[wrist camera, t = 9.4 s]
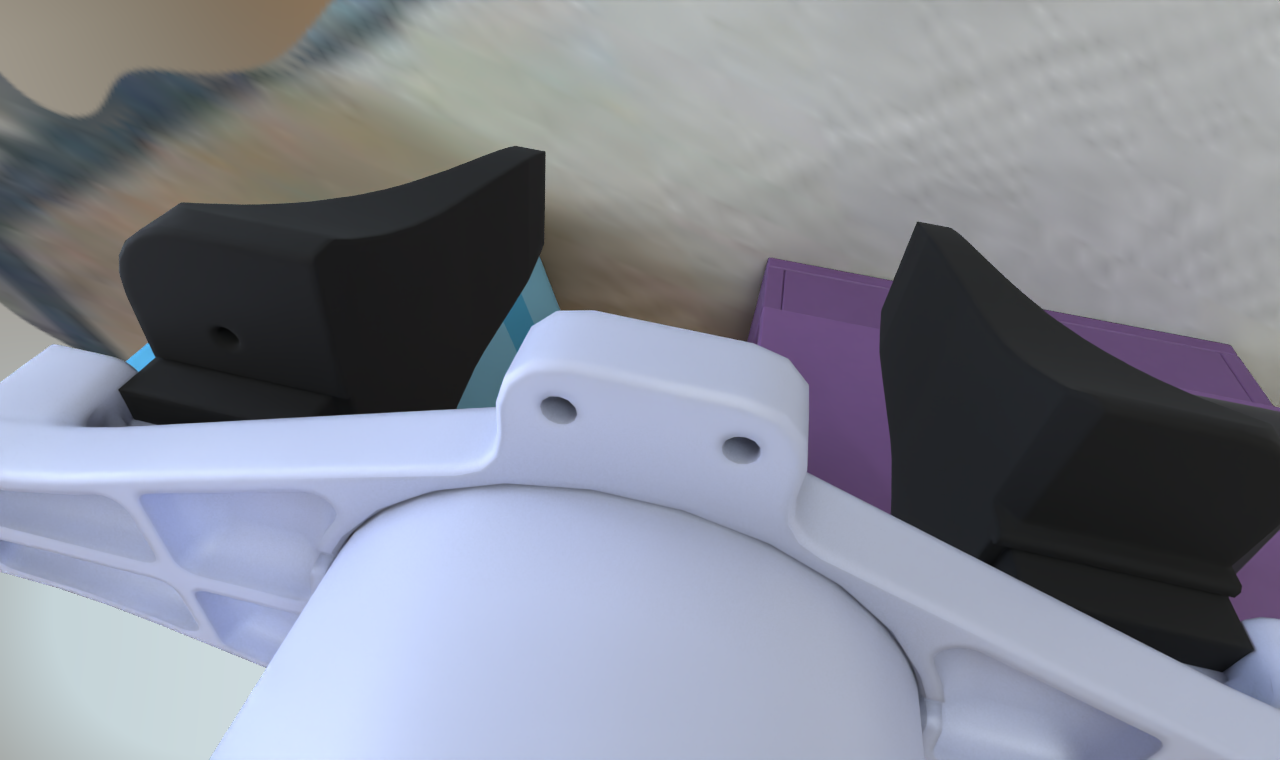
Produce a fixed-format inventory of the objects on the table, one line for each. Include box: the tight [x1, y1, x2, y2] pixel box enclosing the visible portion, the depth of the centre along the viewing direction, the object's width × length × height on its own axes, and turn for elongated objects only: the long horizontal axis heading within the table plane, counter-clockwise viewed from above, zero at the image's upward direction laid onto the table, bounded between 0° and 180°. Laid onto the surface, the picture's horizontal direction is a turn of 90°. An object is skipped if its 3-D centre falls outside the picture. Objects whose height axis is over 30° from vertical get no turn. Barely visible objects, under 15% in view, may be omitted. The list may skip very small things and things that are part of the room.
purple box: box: [747, 258, 1273, 406], centre depth 25 cm, size 8×15×3 cm, turn 84°
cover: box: [757, 307, 1280, 622], centre depth 16 cm, size 9×15×4 cm
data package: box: [126, 256, 560, 409], centre depth 23 cm, size 12×4×12 cm, turn 105°
